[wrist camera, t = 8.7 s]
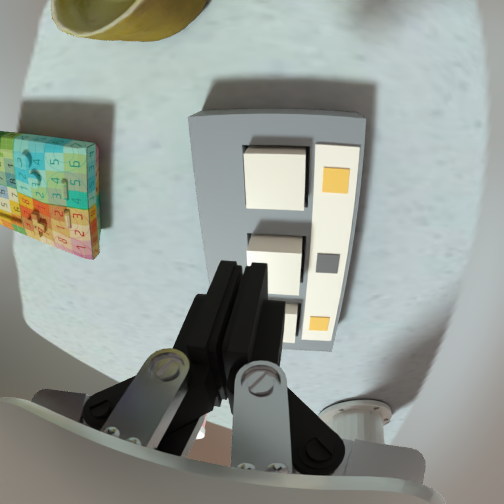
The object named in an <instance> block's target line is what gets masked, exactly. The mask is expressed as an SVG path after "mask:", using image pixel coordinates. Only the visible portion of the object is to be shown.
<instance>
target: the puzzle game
mask: <svg viewBox="0 0 504 504" xmlns="http://www.w3.org/2000/svg"><path fill="white" fill-rule="evenodd" d="M0 224H1V225H4V226H6V227H8V228H10V229H13V230H15V231H17V232H20V233H22V234H25V235H27V236H29V237H32V238H34V239H37V240H39V241H42V242H44V243H47V244H49V245H52V246H54V247H57V248H59V249H62V250H64V251H67V252H69V253H72V254H75V255H77V256H80V257H83V258H85V259H93V260H94V259H95V258H96V256H97V255H98V254H99V253H100V251H99V240H100V232H101V222H100V200H99V147H98V145H97V144H96V143H91V142H84V141H78V140H71V139H64V138H57V137H49V136H41V135H33V134H24V133H14V132H4V131H0Z"/></svg>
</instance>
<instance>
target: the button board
mask: <svg viewBox="0 0 504 504" xmlns="http://www.w3.org/2000/svg"><path fill="white" fill-rule="evenodd" d="M188 122H189V132H190V142H191V151H192V160H193V169H194V177H195V185H196V193H197V201H198V209H199V216H200V224H201V231H202V238H203V245H204V252H205V258H206V265H207V271H208V278H209V284H210V285H211V282H212V280H213V277H214V275H215V272H216V270H217V268H218V265H219V263H220V261H221V260H226V261H236V262H237V265H241V266H242V270H243V273H244V270H245V267H246V266H247V252H246V250H247V247H248V244H249V241H250V238H251V234H252V233H256V234H277V235H296V236H302V257H301V272H300V287H299V296H297V295H281V294H268V300H278V301H286V302H287V303H298V310H297V322H296V334H295V343H286V342H283V344H282V349H291V350H307V351H328V352H332V348H333V343H334V339H335V335H336V330H337V326H338V321H339V317H340V312H341V307H342V302H343V297H344V292H345V287H346V282H347V276H348V271H349V265H350V259H351V253H352V247H353V240H354V234H355V227H356V220H357V212H358V204H359V196H360V187H361V178H362V168H363V157H364V144H365V130H366V118H365V117H363V116H362V115H361V114H360V113H357V112H346V111H333V110H316V109H287V108H253V109H224V110H207V111H200V112H198V113H196V114H193V115H191V116H189V117H188ZM249 145H290V146H306V161H305V195H304V211H298V210H275V209H248V208H246V191H245V172H244V152H245V151H246V149H247V148H248V146H249Z"/></svg>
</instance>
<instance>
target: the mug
mask: <svg viewBox="0 0 504 504" xmlns="http://www.w3.org/2000/svg"><path fill="white" fill-rule="evenodd" d="M206 2H207V0H51V11H52V19H53V21H54V22H55V24H56V25H57V27H58V29H60V30H61V31H63V32H66V33H67V34H70V35H73V36H76V37H84V38H90V39H98V40H111V41H114V40H122V41H141V42H146V41H158V40H161V39H164V38H167V37H170V36H172V35H174V34H176V33H178V32H180V31H181V30H183V29H184V28H185V27H187V26H188V24H190V23H191V22H192V21H193V20H194V19H195V18H196V17H197V16H198V15H199V14H200V12H201V11H202V9H203V8H204V6H205V4H206Z"/></svg>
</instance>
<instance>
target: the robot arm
mask: <svg viewBox="0 0 504 504" xmlns="http://www.w3.org/2000/svg"><path fill="white" fill-rule="evenodd" d="M285 307H286V301H278V300H268V264H267V263H257V262H252V263H251V266H246V267H245V270H244V273H243V270H242V266H241V265H237V262H236V261H226V260H221V261H220V263H219V265H218V268H217V270H216V272H215V275H214V277H213V280H212V282H211V285H210V287H209V289H208V292H207V294H197V295H196V297H195V298H194V301H193V303H192V305H191V307H190V310H189V312H188V314H187V316H186V319H185V321H184V323H183V326H182V328H181V330H180V333H179V335H178V337H177V340H176V342H175V344H174V347H173V349H171V348H169V349H162V350H159V351H156V352H155V353H153V354H151V355H150V356H149V358H148V359H147V360H146V361H145V363H144V364H143V366H142V367H141V369H140V370H139V372H138V373H137V375H136V376H134V377H132V378H129V379H127V380H125V381H123V382H121V383H118V384H116V385H114V386H112V387H109V388H107V389H105V390H103V391H100V392H98V393H96V394H94V395H92V396H88V395H87V394H85V393H76V392H68V391H60V390H53V389H42V390H39V391H38V392H37V393H36V394H35V395H34V396H33V398H32V401H31V402H30V401H27V400H24V399H19V398H12V397H6V398H0V504H446V501H445V500H444V498H443V497H442V495H441V494H440V493H438V492H437V491H436V490H434V489H432V488H430V487H428V486H425V485H423V479H424V473H425V459H424V457H423V455H422V454H421V453H420V452H419V451H417V450H415V449H412V448H407V447H399V446H392V445H386V444H384V429H383V426H384V425H385V424H386V423H388V421H389V420H390V419H391V417H392V413H391V408H390V407H389V406H388V405H387V404H385V403H383V402H380V401H375V400H352V401H346V402H342V403H338V404H335V405H332V406H330V407H328V408H326V409H325V410H323V411H322V412H321V413H320V414H319V416H317V415H316V414H315V413H314V412H313V411H312V410H311V409H310V408H309V407H308V406H307V405H305V404H304V403H303V402H302V401H301V400H300V399H299V398H298V397H297V396H296V395H295V394H294V393H293V392H292V391H291V390H290V389H289V388H288V387H287V379H286V376H285V373H284V372H283V370H282V369H281V368H280V360H281V352H282V344H283V335H284V324H285ZM227 398H228V399H229V404H230V408H231V413H232V414H233V426H232V446H231V448H232V449H231V467H228V466H222V465H217V464H211V463H207V462H201V461H197V460H192V459H188V458H186V457H187V455H188V453H189V451H190V449H191V447H192V445H193V443H194V441H195V439H196V437H197V435H198V433H199V431H200V429H201V427H202V424H203V422H204V420H205V417H206V414H207V413H208V412H210V411H212V410H213V408H214V406H218V407H220V405H221V401H222V399H225V400H227Z"/></svg>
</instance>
